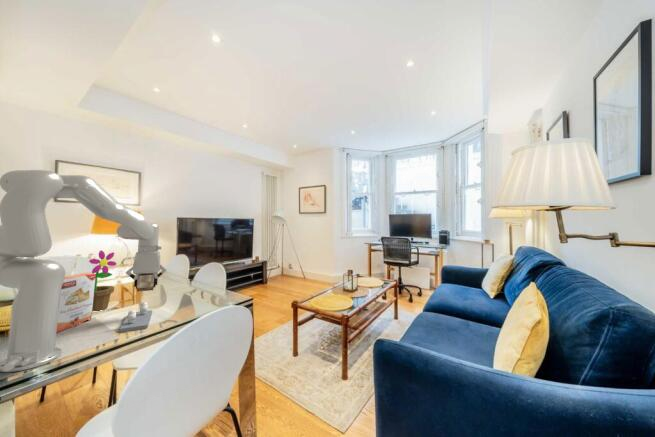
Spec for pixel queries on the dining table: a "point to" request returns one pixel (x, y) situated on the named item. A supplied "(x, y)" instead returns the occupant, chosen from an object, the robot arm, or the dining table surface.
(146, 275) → the sleeve
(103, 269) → the flowerpot
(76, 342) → the dining table surface
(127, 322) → the pin board
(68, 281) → the cracker box
